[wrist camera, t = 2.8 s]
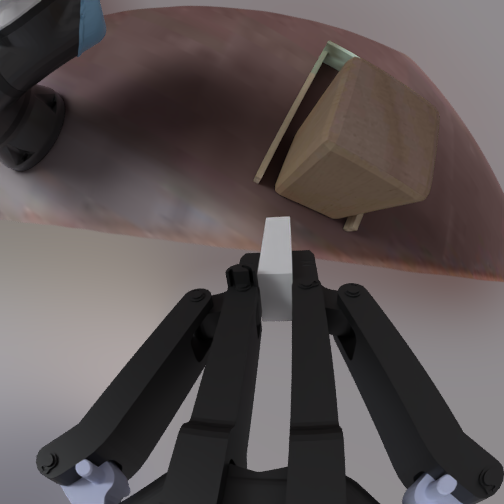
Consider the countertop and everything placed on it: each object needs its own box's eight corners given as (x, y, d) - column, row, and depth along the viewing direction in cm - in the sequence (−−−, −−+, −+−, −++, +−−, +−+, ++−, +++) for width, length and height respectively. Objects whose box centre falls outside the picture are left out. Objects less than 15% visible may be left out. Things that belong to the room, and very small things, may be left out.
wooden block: (355, 161, 38) (444, 109, 18) (336, 222, 37) (432, 204, 18) (295, 131, 37) (352, 48, 17) (270, 193, 36) (322, 139, 17)
